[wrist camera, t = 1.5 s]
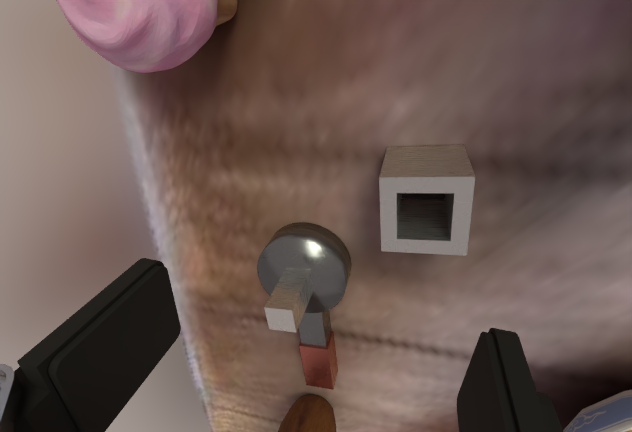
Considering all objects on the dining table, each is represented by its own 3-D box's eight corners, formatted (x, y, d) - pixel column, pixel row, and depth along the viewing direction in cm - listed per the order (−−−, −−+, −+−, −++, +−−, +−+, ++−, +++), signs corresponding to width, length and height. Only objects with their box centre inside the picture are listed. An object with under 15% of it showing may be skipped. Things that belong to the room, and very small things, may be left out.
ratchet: (348, 223, 29) (327, 281, 23) (360, 373, 38) (347, 447, 31) (262, 221, 31) (220, 273, 25) (292, 363, 40) (266, 429, 34)
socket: (463, 144, 24) (475, 176, 19) (457, 211, 26) (466, 255, 21) (387, 147, 25) (379, 177, 20) (388, 209, 28) (381, 251, 23)
